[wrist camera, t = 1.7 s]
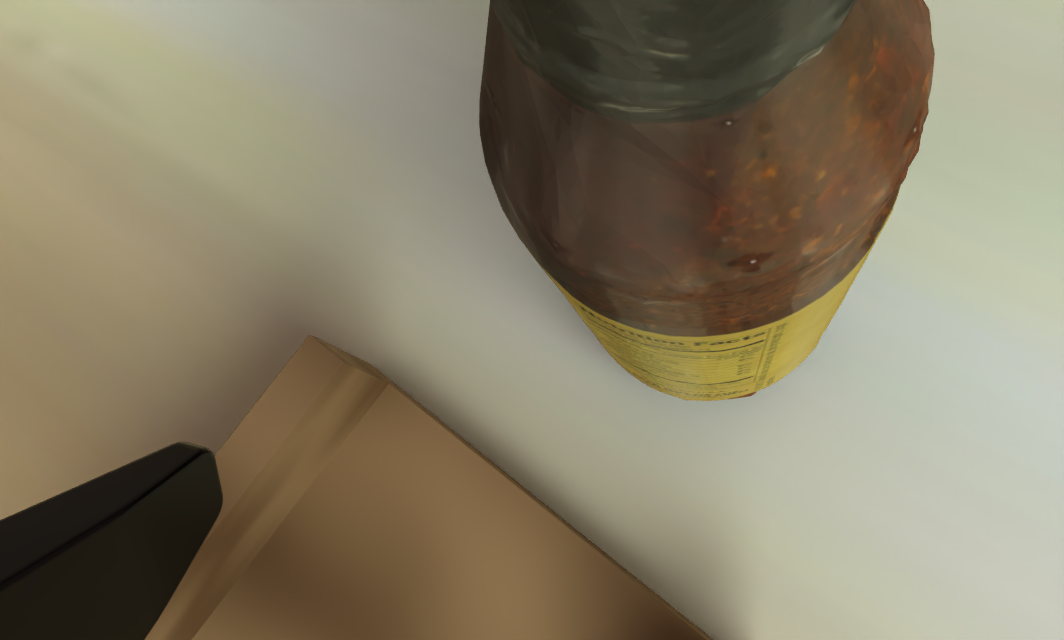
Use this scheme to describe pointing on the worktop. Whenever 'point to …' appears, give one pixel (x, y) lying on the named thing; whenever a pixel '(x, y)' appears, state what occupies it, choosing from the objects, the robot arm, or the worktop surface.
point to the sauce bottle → (703, 167)
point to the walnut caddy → (389, 532)
